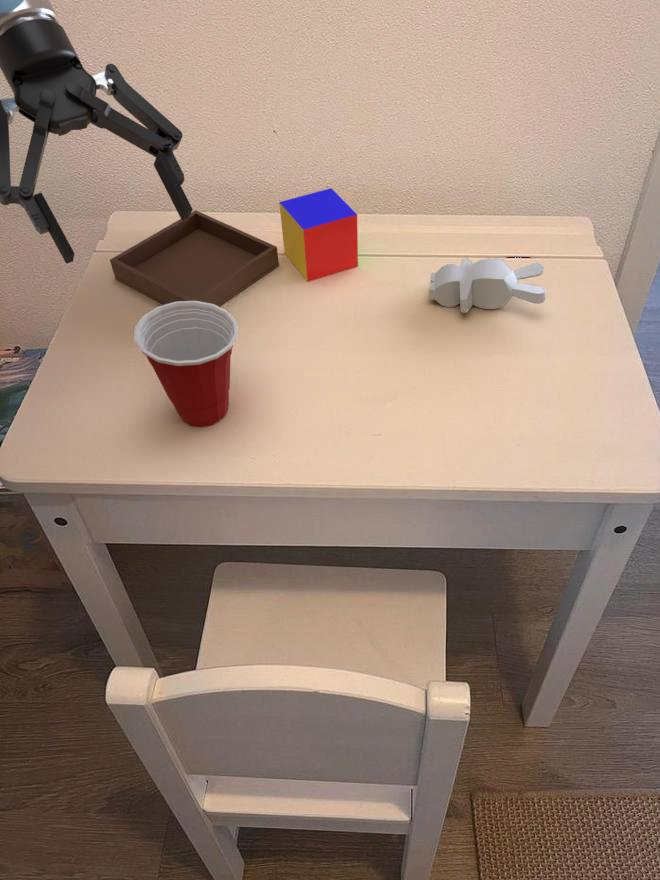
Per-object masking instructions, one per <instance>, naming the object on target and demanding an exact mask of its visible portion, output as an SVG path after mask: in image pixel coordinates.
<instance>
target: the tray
mask: <svg viewBox="0 0 660 880" xmlns="http://www.w3.org/2000/svg"><path fill="white" fill-rule="evenodd" d="M109 263H110V265H111V269H112V272H113V275H114V278H115V280H117V281H119V282H121V283H123V284H124V285H126V286H128V287H129V288H132V289H134V290H136V291H137V292H139V293H141V294H143V295H144V296H147V297H149V298H150V299H152V300H154V301H156V302H157V303H160V304H161V305H165V304H169V303H172V302H178V301H200V302H205V303H211V304H214V305H216V306H218V307H220V308H221V307H222V305H224V304H225V303H227V302H229V301H230V300H232V299H233V298H234V297H236V296H238V295H239V294H240V293H241V292H243V291H245V290H246V289H248V288H249V287H250V286H252V285H254V284H255V283H256V282H258V281H259V280H261V278H263V277H265V276H266V275H268V274H269V273H271V272H272V271H273V270H275V269H276V268H278V267H280V262H279V253H278V246H277V245H274V244H271V243H269V242H267V241H265V240H262V239H261V238H259V237H256V236H254V235H252V234H249V233H247V232H246V231H244V230H243V231H242V230H241V229H239V228H236V227H234V226H232V225H229V224H227V223H225V222H224V221H220V220H218V219H216V218H214V217H211V216H210V215H208V214H205V213H203V212H200V211H199V210H196V209H195V210H194V211H193V210H192V212H191V214H190V216H189V217H188V219H185V220H181V218H179V219H178V220H176V221H174V222H172V223H171V224H168V226H165V227H164V228H162V229H161V230H159V231H157V232H156V233H154V234H152V235H150V236H148V237H147V238H145V239H143V240H141V241H140V242H138V243H136V244H135V245H133V246H131V247H129V248H128V249H126V250H124V251H123V252H120V253H119V254H117V255H115V256H114V257H112V258H111V259H109Z"/></svg>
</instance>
